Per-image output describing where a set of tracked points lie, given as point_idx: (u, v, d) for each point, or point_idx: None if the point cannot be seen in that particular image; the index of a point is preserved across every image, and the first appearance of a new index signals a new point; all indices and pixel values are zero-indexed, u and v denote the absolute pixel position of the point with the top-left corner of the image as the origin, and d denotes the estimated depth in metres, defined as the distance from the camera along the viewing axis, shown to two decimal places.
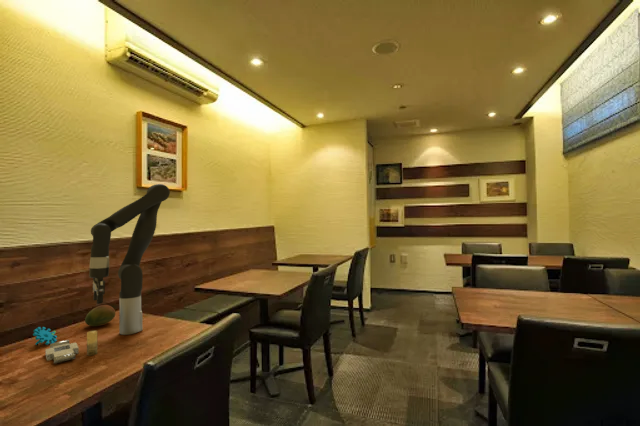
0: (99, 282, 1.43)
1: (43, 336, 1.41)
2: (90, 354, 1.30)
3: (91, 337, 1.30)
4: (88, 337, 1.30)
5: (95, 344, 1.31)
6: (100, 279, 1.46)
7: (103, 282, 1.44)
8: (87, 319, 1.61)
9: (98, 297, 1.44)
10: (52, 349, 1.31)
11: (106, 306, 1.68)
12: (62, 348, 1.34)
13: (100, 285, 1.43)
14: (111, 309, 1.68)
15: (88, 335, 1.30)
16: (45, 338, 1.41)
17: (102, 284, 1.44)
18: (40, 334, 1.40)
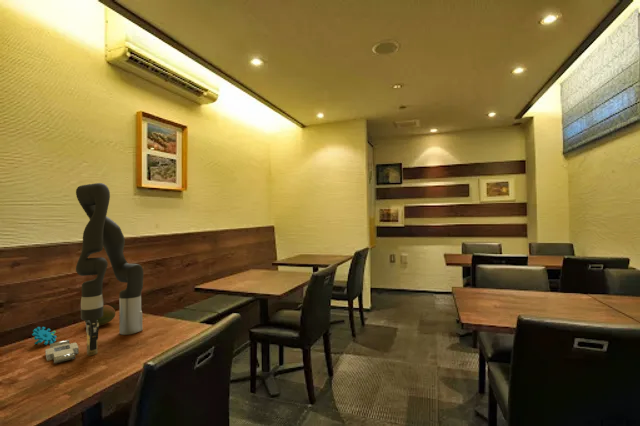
0: (92, 329, 1.27)
1: (42, 336, 1.41)
2: (90, 354, 1.30)
3: None
4: (88, 337, 1.30)
5: None
6: (93, 321, 1.29)
7: (97, 329, 1.28)
8: None
9: (91, 343, 1.29)
10: (52, 349, 1.31)
11: (106, 306, 1.68)
12: (62, 348, 1.34)
13: (93, 332, 1.27)
14: (111, 309, 1.68)
15: (88, 335, 1.30)
16: (44, 338, 1.41)
17: (95, 331, 1.28)
18: (39, 334, 1.40)
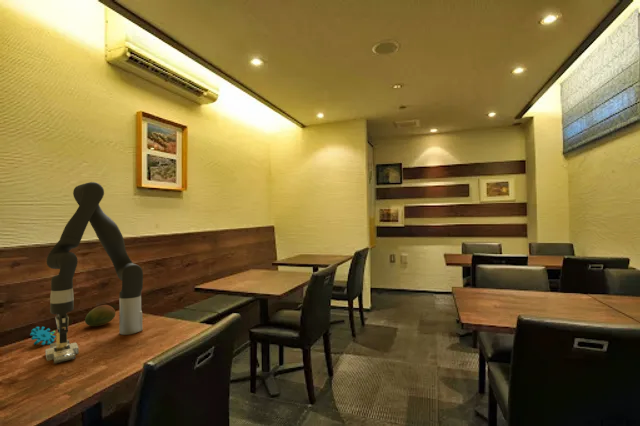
0: (61, 320, 1.26)
1: (40, 336, 1.41)
2: None
3: None
4: (57, 337, 1.30)
5: (64, 344, 1.31)
6: (63, 315, 1.29)
7: (66, 319, 1.27)
8: (87, 319, 1.61)
9: (61, 336, 1.28)
10: (52, 349, 1.31)
11: (106, 306, 1.68)
12: None
13: (62, 323, 1.27)
14: (111, 309, 1.68)
15: (57, 335, 1.30)
16: (42, 338, 1.41)
17: (64, 321, 1.27)
18: (37, 334, 1.41)
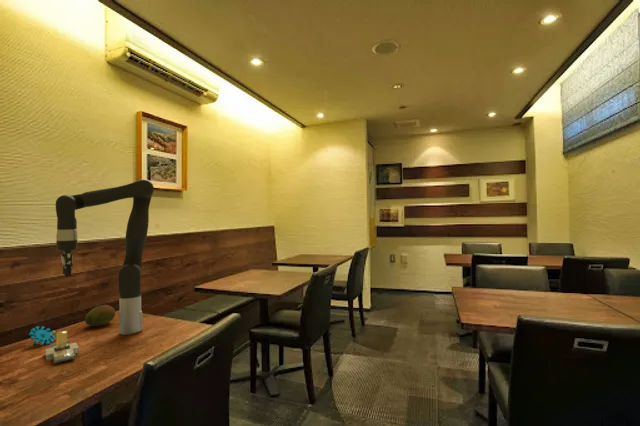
0: (66, 254, 1.40)
1: (39, 336, 1.41)
2: None
3: (60, 337, 1.30)
4: (57, 337, 1.30)
5: (65, 344, 1.31)
6: (68, 252, 1.43)
7: (70, 254, 1.41)
8: (87, 319, 1.61)
9: (66, 270, 1.41)
10: (52, 349, 1.31)
11: (106, 306, 1.68)
12: None
13: (67, 257, 1.40)
14: (111, 309, 1.68)
15: (57, 335, 1.30)
16: (40, 338, 1.41)
17: (69, 256, 1.41)
18: (36, 334, 1.41)
